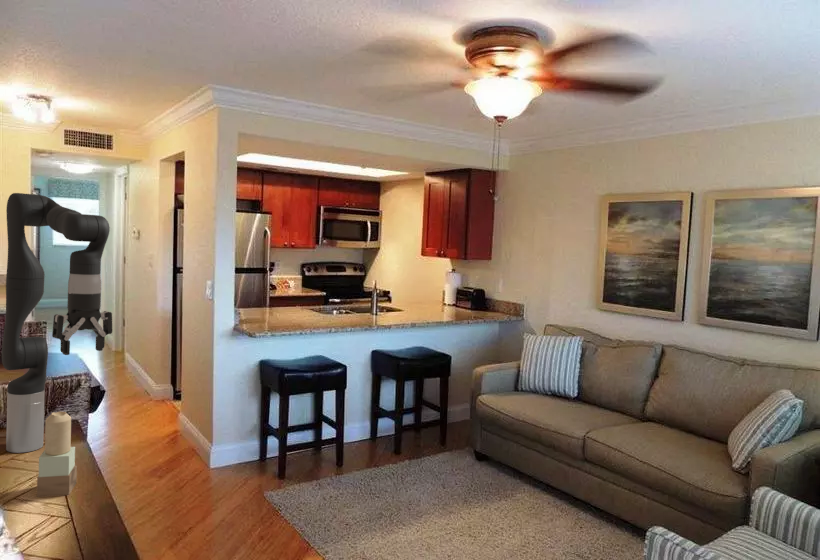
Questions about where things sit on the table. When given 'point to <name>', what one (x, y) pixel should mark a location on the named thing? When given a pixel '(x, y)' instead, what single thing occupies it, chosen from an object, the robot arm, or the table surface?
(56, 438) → the candle
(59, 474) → the top block
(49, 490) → the base block
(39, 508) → the table surface
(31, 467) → the table surface
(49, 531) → the table surface
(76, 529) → the table surface
